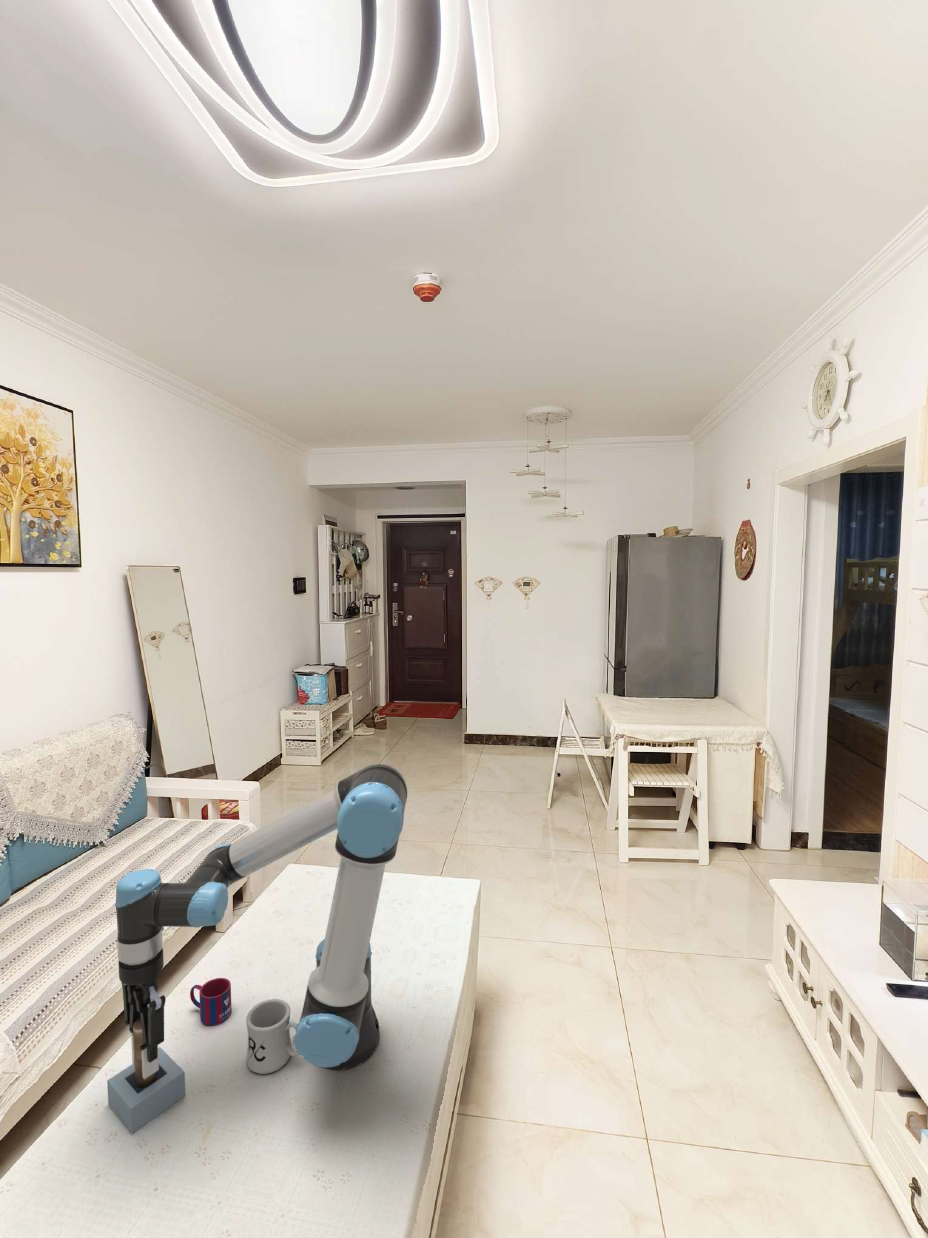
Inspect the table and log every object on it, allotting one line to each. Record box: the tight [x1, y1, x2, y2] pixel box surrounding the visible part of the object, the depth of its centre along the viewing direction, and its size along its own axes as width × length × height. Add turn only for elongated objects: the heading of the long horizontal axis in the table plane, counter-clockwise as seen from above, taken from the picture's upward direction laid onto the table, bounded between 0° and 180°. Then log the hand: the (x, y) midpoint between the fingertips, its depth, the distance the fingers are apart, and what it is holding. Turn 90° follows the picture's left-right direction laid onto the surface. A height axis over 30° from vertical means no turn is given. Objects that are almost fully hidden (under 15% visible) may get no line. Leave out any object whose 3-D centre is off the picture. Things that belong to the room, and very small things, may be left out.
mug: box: [245, 998, 301, 1075], centre depth 123 cm, size 12×9×10 cm
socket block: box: [106, 1046, 186, 1135], centre depth 113 cm, size 10×10×5 cm
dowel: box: [133, 1017, 157, 1088], centre depth 113 cm, size 4×4×12 cm
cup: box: [189, 977, 232, 1027], centre depth 136 cm, size 7×10×7 cm
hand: (145, 1068), depth 113 cm, fingers closed on dowel, 3 cm apart
